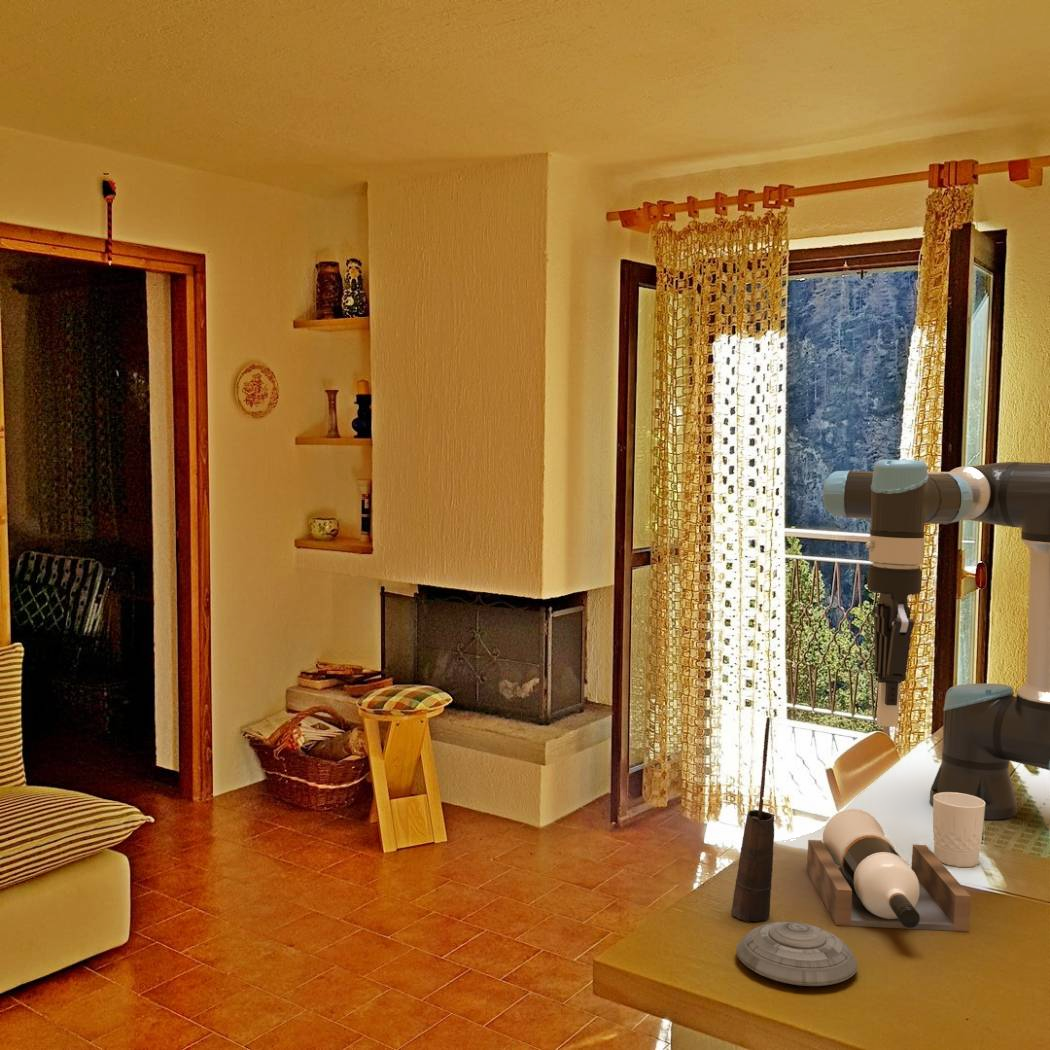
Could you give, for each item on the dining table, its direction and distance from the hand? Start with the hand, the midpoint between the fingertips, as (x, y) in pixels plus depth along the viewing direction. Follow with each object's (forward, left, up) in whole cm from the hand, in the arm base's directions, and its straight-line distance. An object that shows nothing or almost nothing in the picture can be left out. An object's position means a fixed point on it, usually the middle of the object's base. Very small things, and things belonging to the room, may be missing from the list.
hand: (887, 725), depth 164 cm
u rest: (+1, +2, -25) cm, 25 cm away
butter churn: (+23, -5, -26) cm, 35 cm away
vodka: (-5, -9, -20) cm, 22 cm away
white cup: (-23, -2, -26) cm, 34 cm away
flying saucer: (+29, +8, -26) cm, 40 cm away
